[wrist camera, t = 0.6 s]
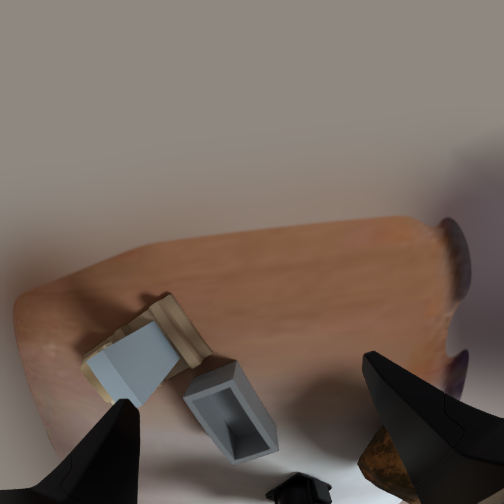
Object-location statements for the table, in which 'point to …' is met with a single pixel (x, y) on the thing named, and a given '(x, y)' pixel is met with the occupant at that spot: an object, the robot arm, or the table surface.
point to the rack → (174, 330)
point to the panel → (135, 364)
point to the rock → (387, 468)
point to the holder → (232, 414)
